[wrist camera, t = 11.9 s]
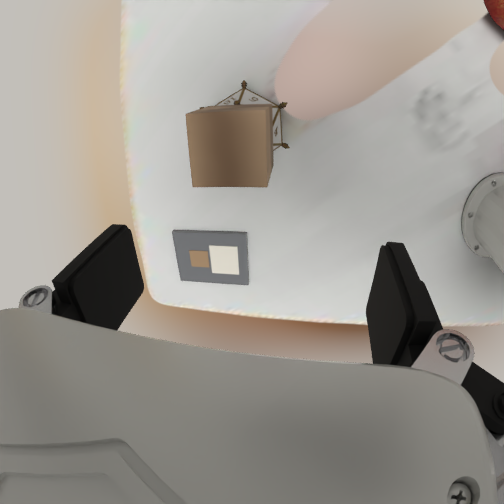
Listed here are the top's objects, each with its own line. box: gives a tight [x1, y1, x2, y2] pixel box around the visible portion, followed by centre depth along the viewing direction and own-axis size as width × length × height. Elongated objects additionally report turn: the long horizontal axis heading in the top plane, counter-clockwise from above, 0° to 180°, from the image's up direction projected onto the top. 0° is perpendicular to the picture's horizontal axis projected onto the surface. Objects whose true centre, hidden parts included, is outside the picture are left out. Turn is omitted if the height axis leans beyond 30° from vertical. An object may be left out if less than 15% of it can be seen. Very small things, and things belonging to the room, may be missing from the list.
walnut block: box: [186, 104, 273, 187], centre depth 23 cm, size 6×6×6 cm
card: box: [172, 230, 249, 285], centre depth 42 cm, size 10×8×1 cm
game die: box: [200, 81, 289, 151], centre depth 29 cm, size 9×8×10 cm
